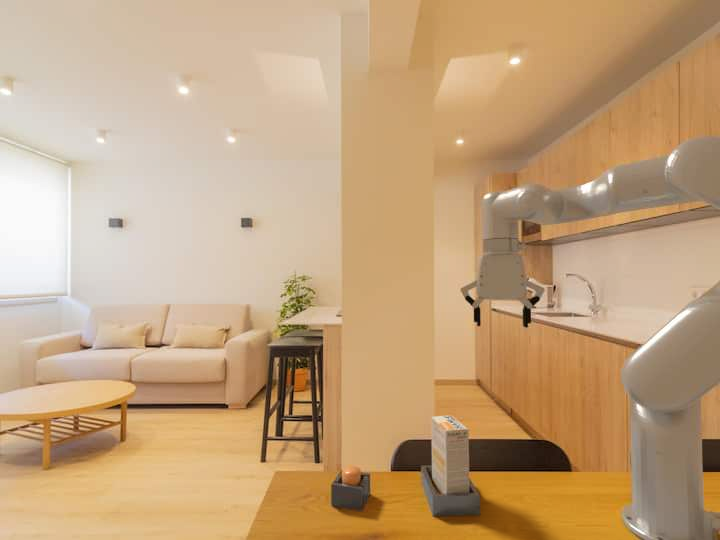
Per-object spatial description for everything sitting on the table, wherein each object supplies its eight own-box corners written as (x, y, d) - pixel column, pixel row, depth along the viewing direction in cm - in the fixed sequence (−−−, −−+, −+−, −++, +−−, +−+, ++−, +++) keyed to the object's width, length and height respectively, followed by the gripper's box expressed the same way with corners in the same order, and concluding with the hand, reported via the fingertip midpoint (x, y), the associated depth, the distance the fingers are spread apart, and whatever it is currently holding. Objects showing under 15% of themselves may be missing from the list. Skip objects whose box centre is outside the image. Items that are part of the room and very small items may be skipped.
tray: (461, 481, 81) (461, 464, 81) (480, 515, 70) (479, 495, 70) (421, 482, 81) (421, 465, 81) (432, 516, 69) (432, 496, 70)
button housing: (370, 493, 77) (370, 473, 77) (361, 511, 71) (361, 489, 71) (341, 489, 79) (341, 469, 79) (331, 505, 73) (331, 484, 73)
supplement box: (471, 500, 72) (470, 429, 72) (446, 503, 71) (445, 431, 71) (453, 478, 80) (452, 414, 80) (431, 480, 79) (430, 415, 79)
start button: (362, 488, 76) (362, 467, 76) (357, 498, 73) (357, 476, 73) (345, 485, 77) (345, 465, 77) (339, 495, 74) (339, 474, 74)
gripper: (540, 248, 86) (542, 325, 86) (460, 250, 91) (461, 323, 91) (546, 245, 79) (548, 329, 79) (459, 248, 84) (460, 327, 84)
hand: (501, 326), depth 85 cm, fingers open, 9 cm apart
